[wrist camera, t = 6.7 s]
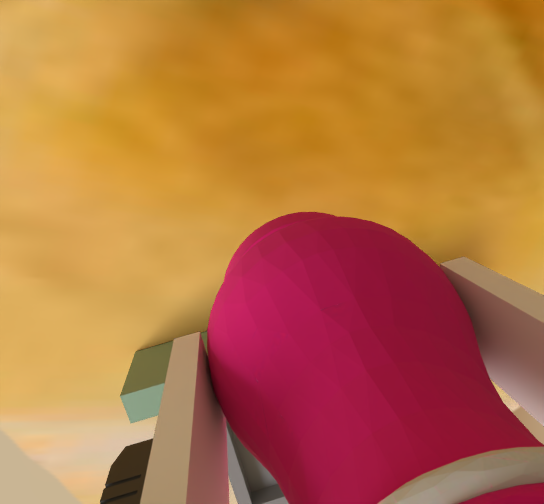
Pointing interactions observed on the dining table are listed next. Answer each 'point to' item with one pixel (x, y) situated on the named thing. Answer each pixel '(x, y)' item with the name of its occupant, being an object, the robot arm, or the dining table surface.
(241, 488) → the tray
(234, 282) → the pepper mill
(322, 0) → the dining table surface
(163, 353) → the board
